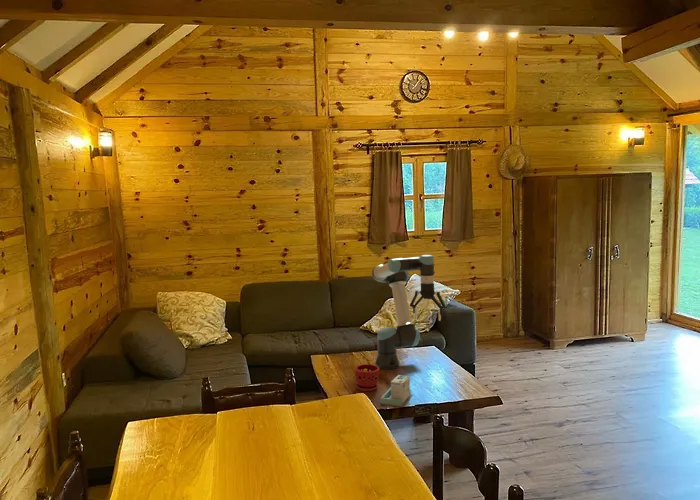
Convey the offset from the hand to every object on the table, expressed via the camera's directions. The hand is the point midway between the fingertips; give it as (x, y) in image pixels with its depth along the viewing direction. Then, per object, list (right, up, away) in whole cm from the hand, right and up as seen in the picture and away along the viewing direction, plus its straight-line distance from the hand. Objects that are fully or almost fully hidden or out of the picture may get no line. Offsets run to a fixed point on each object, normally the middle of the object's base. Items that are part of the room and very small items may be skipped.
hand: (427, 319), depth 292 cm
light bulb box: (-18, -38, -26) cm, 49 cm away
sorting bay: (-20, -38, -26) cm, 50 cm away
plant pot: (-34, -37, -9) cm, 51 cm away
